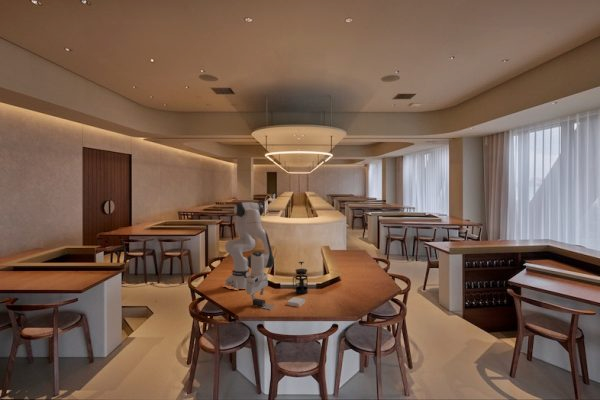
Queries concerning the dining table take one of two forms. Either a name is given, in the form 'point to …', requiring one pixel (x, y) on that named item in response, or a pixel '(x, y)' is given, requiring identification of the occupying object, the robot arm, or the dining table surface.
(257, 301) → the turner
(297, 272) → the french press
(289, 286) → the dining table surface
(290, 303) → the tile
